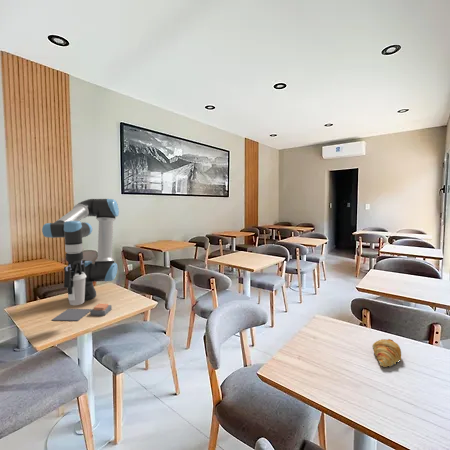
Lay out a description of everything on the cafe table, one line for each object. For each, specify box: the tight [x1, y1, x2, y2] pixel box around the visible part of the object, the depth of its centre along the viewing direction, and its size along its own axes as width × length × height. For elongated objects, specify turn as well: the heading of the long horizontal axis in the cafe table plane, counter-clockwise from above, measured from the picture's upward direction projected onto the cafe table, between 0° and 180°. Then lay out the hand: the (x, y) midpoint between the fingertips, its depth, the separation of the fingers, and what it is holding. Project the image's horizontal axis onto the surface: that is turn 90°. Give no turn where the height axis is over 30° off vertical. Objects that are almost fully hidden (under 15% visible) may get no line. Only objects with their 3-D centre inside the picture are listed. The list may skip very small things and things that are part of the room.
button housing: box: [89, 304, 113, 317], centre depth 149 cm, size 8×8×3 cm
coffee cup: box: [66, 272, 87, 306], centre depth 132 cm, size 10×10×15 cm
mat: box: [51, 308, 93, 322], centre depth 145 cm, size 14×14×1 cm
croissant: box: [371, 338, 402, 368], centre depth 108 cm, size 21×10×8 cm, turn 142°
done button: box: [93, 303, 109, 310], centre depth 149 cm, size 6×6×2 cm
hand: (76, 296), depth 133 cm, fingers closed on coffee cup, 8 cm apart
